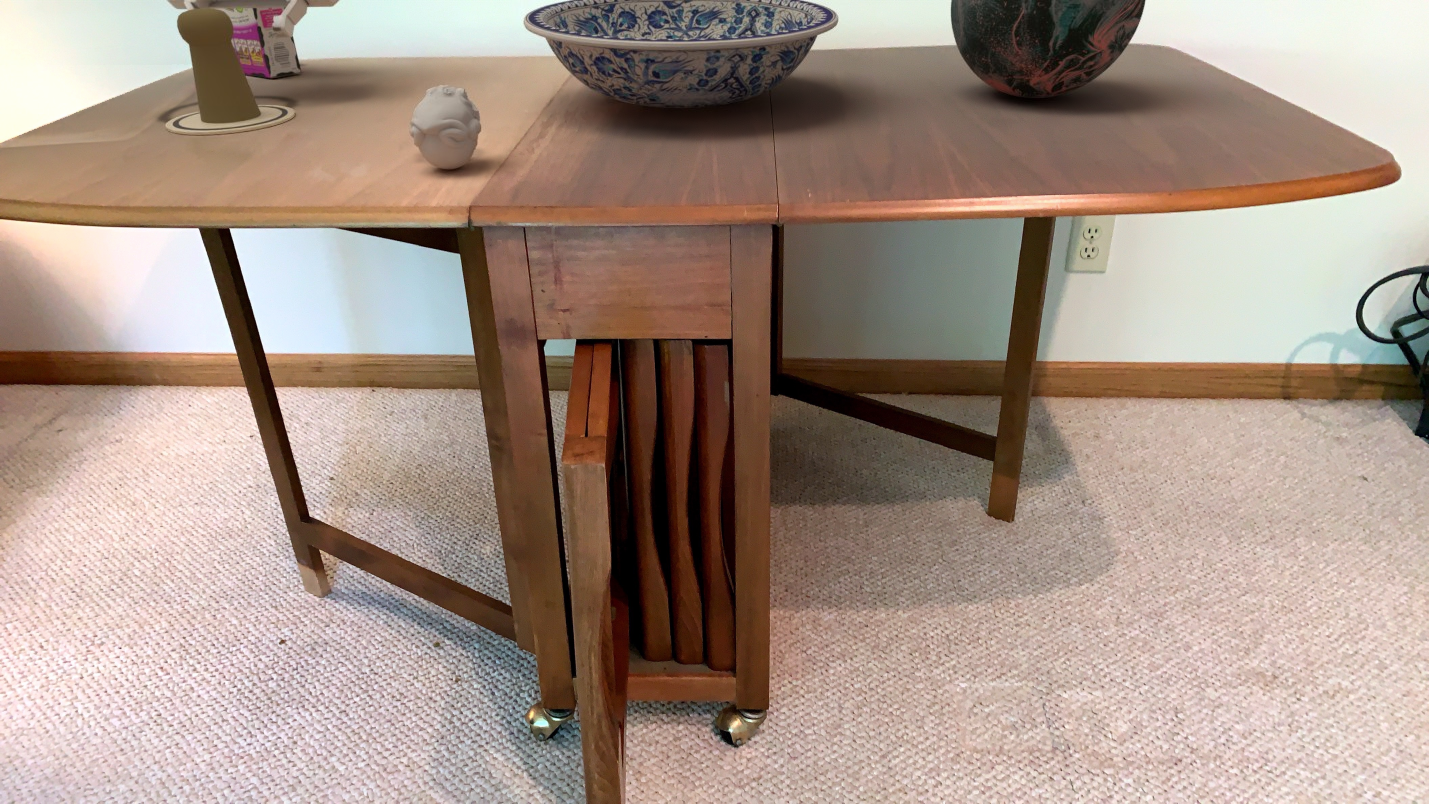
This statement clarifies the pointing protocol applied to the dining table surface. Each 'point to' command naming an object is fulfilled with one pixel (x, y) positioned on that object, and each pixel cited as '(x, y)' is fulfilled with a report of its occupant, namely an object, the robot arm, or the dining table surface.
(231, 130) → the round coaster
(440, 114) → the frog figurine
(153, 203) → the dining table surface
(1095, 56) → the decorative sphere
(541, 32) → the ceramic bowl
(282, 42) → the candy bar box
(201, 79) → the cork
